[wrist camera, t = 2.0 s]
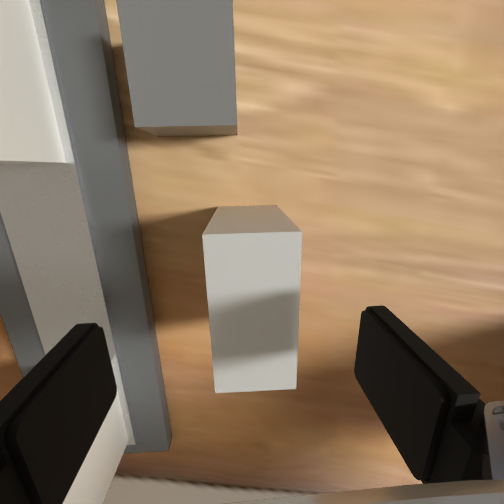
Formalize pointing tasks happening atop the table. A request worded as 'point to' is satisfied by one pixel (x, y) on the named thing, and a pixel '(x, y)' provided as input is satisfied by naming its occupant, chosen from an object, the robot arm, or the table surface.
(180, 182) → the table surface
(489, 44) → the table surface
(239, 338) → the block
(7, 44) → the mounted modules
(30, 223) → the metal rail
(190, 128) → the block
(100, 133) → the rail board
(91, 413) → the robot arm
